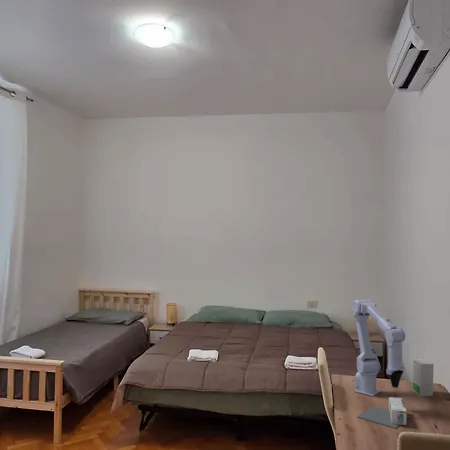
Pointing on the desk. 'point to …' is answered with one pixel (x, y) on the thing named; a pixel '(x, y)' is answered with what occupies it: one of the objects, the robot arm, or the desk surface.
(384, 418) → the mat
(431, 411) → the desk surface
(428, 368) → the skincare box
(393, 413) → the syrup box
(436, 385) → the desk surface
